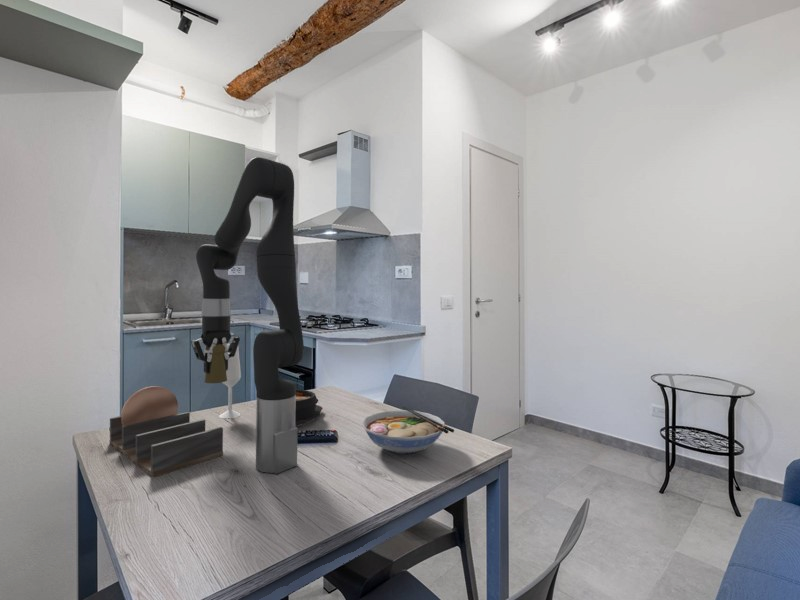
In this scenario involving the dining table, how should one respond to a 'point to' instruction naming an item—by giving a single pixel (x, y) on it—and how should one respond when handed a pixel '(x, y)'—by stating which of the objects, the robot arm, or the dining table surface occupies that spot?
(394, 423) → the ramen bowl
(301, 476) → the dining table surface
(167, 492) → the dining table surface
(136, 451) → the rack
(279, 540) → the dining table surface
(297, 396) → the casserole
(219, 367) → the cork
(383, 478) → the dining table surface
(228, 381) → the champagne flute
